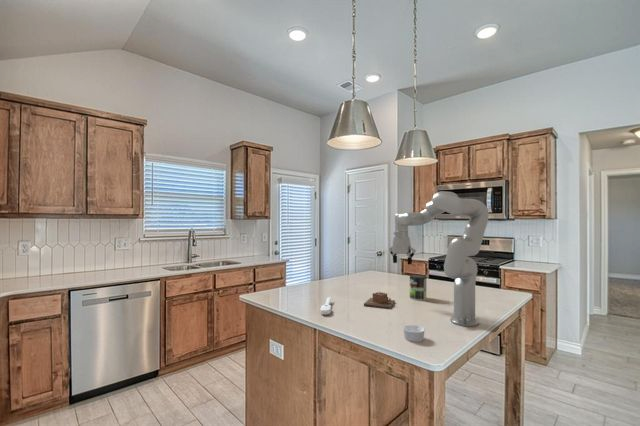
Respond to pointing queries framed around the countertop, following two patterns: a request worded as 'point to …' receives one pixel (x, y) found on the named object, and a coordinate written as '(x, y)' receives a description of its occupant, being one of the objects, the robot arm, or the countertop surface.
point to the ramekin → (413, 333)
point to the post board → (384, 305)
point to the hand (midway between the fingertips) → (402, 263)
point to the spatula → (326, 307)
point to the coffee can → (418, 287)
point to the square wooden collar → (380, 298)
